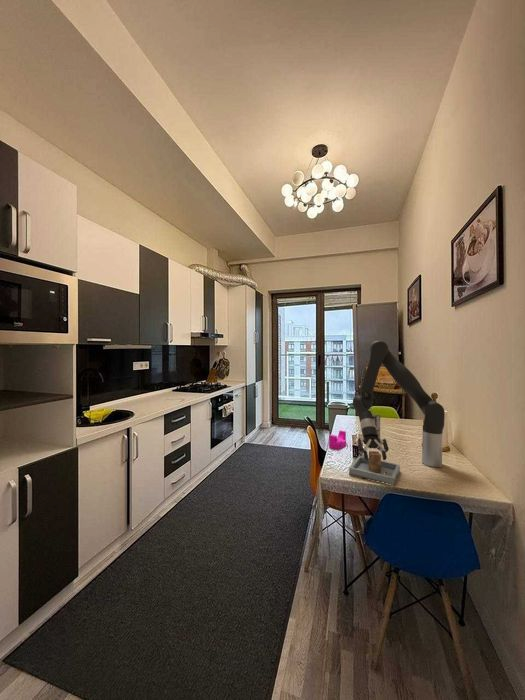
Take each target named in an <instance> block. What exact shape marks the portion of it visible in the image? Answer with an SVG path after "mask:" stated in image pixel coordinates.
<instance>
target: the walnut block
mask: <svg viewBox="0 0 525 700" xmlns="http://www.w3.org/2000/svg"><path fill="white" fill-rule="evenodd" d="M368 458H369V470H370V472H373V473H381V461H382V453H380V452H379V451H377V450H376V451H374V450H373V451H368Z"/></svg>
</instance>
